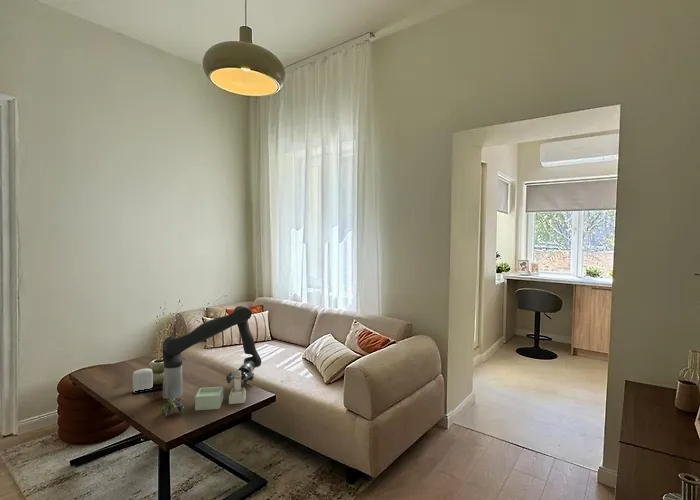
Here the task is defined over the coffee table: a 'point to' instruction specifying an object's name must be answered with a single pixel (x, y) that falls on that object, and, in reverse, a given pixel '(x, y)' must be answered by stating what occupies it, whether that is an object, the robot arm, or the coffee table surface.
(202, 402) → the tray
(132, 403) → the coffee table surface
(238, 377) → the fuse
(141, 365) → the coffee table surface
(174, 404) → the passion flower
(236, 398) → the fuse holder
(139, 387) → the photo printer
